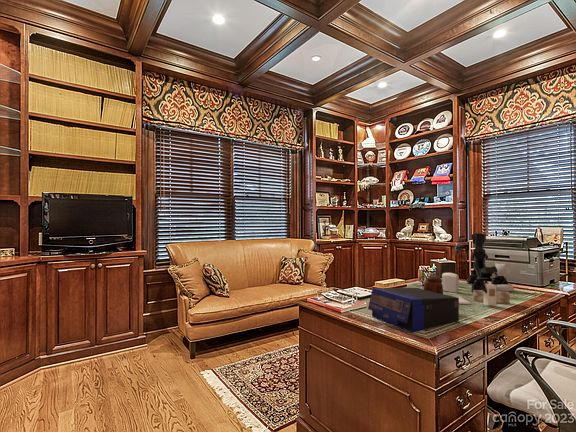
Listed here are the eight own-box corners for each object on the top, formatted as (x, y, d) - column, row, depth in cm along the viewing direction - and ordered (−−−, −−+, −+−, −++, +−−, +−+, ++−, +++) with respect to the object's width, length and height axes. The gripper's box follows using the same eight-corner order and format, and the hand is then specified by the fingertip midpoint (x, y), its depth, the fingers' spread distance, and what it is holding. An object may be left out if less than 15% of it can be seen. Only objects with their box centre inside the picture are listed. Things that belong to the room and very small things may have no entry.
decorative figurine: (482, 287, 221) (482, 259, 221) (501, 287, 223) (502, 259, 223) (499, 293, 206) (499, 262, 206) (519, 292, 208) (519, 262, 208)
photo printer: (440, 290, 213) (441, 272, 213) (443, 289, 216) (444, 271, 216) (456, 293, 205) (457, 274, 205) (459, 292, 208) (459, 273, 208)
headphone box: (367, 317, 156) (367, 288, 156) (416, 308, 173) (416, 281, 173) (407, 334, 134) (407, 300, 134) (459, 321, 151) (459, 291, 151)
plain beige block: (491, 303, 178) (491, 283, 178) (496, 305, 174) (496, 285, 174) (483, 302, 179) (483, 283, 179) (488, 305, 174) (488, 285, 174)
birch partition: (474, 300, 188) (474, 290, 188) (473, 299, 189) (473, 289, 189) (509, 303, 182) (509, 293, 182) (508, 302, 183) (508, 292, 183)
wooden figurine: (447, 310, 168) (448, 276, 168) (440, 312, 164) (440, 277, 164) (427, 305, 178) (427, 273, 178) (420, 306, 175) (420, 274, 175)
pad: (460, 298, 191) (460, 297, 191) (470, 304, 179) (470, 302, 179) (440, 298, 192) (440, 296, 192) (448, 303, 180) (448, 302, 180)
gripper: (469, 260, 181) (478, 284, 170) (503, 261, 179) (515, 285, 168) (462, 272, 189) (471, 295, 178) (496, 272, 187) (506, 296, 176)
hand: (491, 292), depth 175 cm, fingers closed on plain beige block, 4 cm apart
